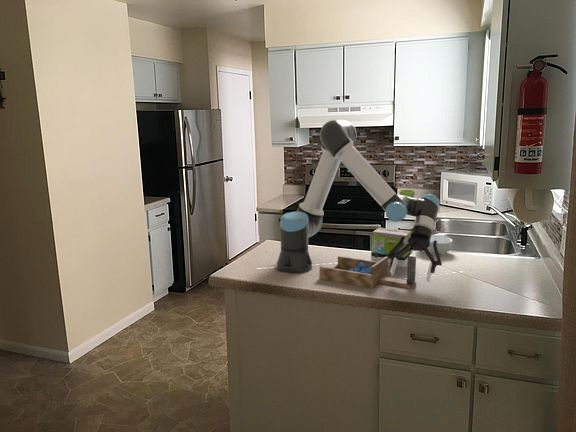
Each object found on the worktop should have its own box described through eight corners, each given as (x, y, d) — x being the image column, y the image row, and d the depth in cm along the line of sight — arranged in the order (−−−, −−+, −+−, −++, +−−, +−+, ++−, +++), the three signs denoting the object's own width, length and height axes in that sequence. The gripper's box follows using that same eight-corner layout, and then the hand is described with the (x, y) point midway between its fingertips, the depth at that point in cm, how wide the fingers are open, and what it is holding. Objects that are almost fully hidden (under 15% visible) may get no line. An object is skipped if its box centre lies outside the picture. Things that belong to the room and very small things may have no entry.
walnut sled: (421, 280, 192) (422, 252, 189) (407, 294, 177) (408, 264, 174) (338, 267, 210) (339, 241, 207) (319, 278, 194) (319, 250, 192)
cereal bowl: (442, 260, 220) (443, 244, 219) (408, 253, 231) (409, 239, 229) (457, 252, 233) (458, 237, 231) (424, 246, 243) (425, 232, 242)
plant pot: (401, 204, 363) (401, 189, 361) (417, 205, 357) (417, 190, 355) (396, 206, 353) (396, 191, 351) (412, 208, 347) (413, 192, 345)
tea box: (370, 264, 214) (371, 231, 212) (377, 258, 223) (378, 226, 220) (404, 269, 208) (405, 235, 205) (410, 262, 216) (411, 230, 213)
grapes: (380, 262, 189) (349, 264, 188) (380, 280, 190) (350, 281, 188) (372, 259, 201) (343, 261, 200) (372, 276, 201) (344, 277, 200)
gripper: (456, 238, 188) (444, 287, 179) (393, 231, 201) (379, 276, 191) (454, 227, 183) (442, 277, 173) (389, 221, 195) (375, 267, 186)
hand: (409, 277), depth 182 cm, fingers open, 13 cm apart
